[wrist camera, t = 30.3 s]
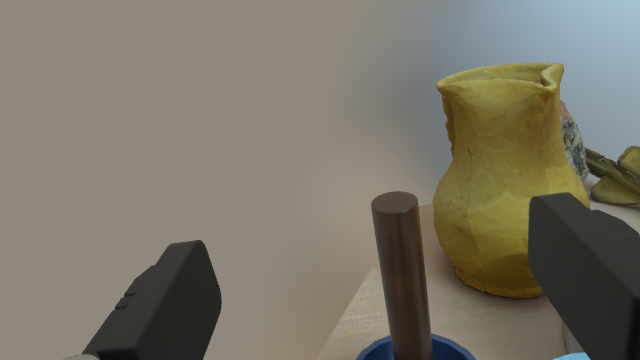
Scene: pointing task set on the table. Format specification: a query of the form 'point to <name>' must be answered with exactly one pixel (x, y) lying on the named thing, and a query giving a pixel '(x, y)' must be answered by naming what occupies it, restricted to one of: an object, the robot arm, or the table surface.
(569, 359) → the vase
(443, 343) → the bowl
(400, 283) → the stirring stick
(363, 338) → the table surface
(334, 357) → the table surface
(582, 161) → the rock
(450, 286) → the table surface
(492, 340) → the table surface
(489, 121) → the pitcher
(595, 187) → the missile
